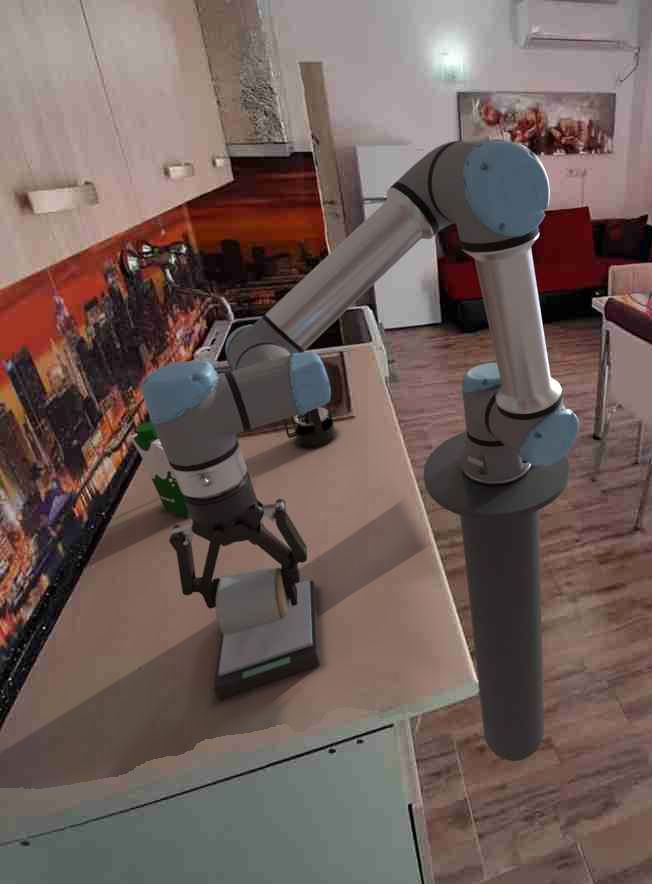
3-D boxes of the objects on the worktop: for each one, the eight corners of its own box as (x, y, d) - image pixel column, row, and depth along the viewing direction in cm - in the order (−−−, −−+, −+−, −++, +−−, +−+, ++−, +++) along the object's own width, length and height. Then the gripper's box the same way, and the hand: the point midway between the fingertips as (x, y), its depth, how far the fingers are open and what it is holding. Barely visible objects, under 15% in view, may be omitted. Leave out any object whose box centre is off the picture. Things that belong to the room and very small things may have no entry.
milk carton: (157, 511, 104) (120, 428, 95) (197, 485, 111) (165, 405, 102) (186, 522, 100) (150, 436, 91) (225, 494, 108) (195, 412, 99)
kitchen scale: (316, 590, 84) (312, 576, 82) (320, 665, 72) (315, 651, 70) (230, 616, 80) (224, 603, 79) (219, 700, 68) (212, 685, 67)
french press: (331, 422, 132) (312, 340, 122) (344, 438, 125) (325, 352, 115) (285, 439, 126) (261, 354, 116) (296, 456, 119) (271, 367, 109)
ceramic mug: (290, 629, 70) (277, 589, 67) (226, 648, 68) (209, 607, 65) (293, 574, 80) (282, 536, 76) (236, 589, 77) (222, 550, 74)
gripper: (108, 524, 57) (175, 656, 67) (304, 477, 63) (338, 604, 73) (127, 485, 64) (185, 611, 74) (303, 446, 70) (335, 567, 80)
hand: (261, 608), depth 74 cm, fingers closed on ceramic mug, 8 cm apart
